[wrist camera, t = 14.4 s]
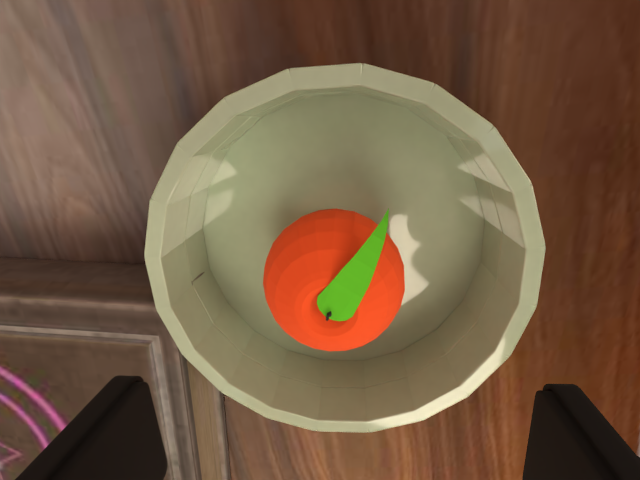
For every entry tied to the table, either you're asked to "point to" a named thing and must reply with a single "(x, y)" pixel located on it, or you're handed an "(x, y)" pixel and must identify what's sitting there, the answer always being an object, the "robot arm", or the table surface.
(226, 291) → the bowl
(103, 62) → the table surface
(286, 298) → the clementine
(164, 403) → the book
